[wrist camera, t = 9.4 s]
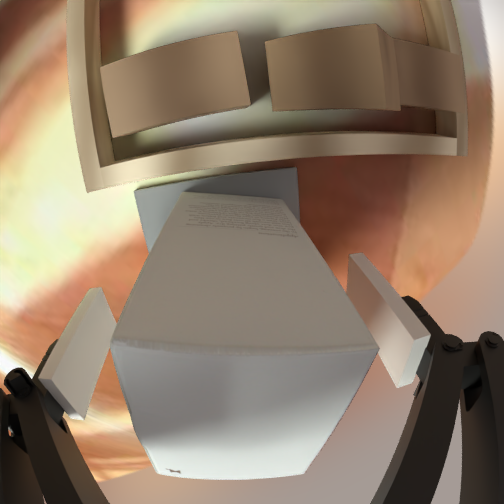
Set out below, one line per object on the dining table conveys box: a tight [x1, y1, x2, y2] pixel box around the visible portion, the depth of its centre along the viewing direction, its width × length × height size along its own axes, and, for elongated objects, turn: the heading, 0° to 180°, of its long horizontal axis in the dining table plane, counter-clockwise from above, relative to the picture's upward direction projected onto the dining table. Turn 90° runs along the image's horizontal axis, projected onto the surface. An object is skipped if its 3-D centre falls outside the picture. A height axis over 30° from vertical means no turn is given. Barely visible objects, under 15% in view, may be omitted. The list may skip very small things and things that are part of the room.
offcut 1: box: [100, 31, 251, 138], centre depth 13 cm, size 7×4×4 cm, turn 99°
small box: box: [110, 192, 380, 480], centre depth 13 cm, size 8×6×13 cm
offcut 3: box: [392, 38, 465, 113], centre depth 14 cm, size 7×4×4 cm, turn 96°
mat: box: [134, 167, 300, 253], centre depth 19 cm, size 10×10×1 cm
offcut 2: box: [265, 24, 401, 111], centre depth 12 cm, size 6×4×3 cm
